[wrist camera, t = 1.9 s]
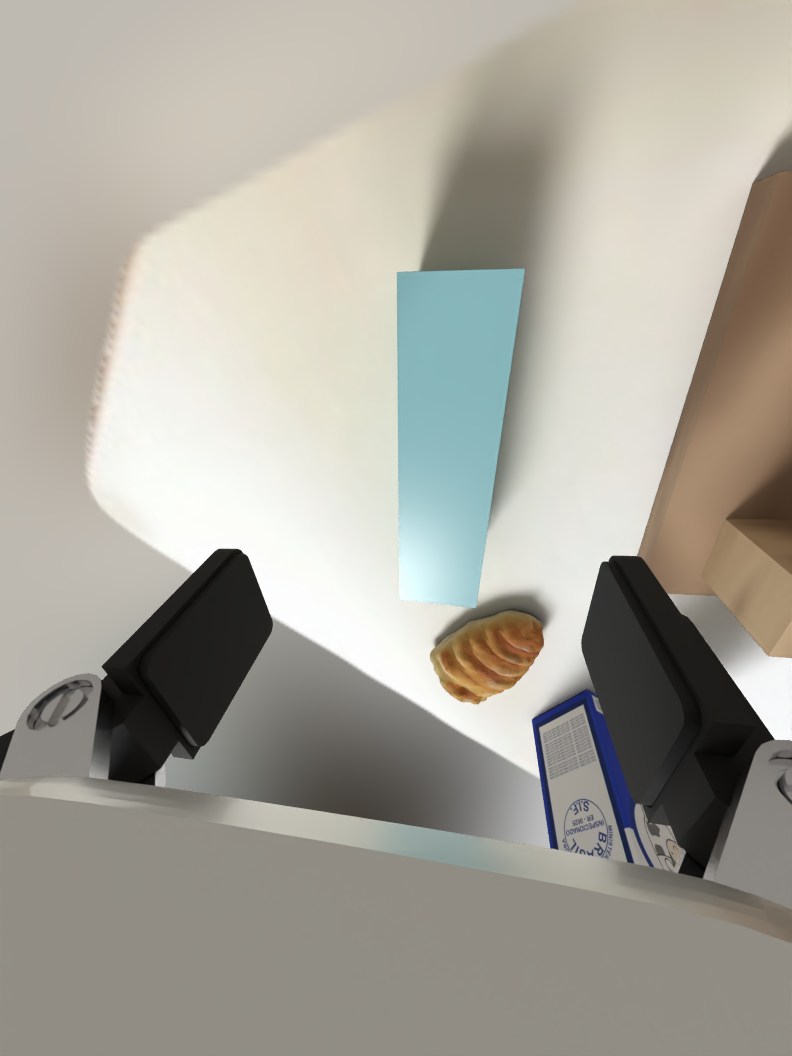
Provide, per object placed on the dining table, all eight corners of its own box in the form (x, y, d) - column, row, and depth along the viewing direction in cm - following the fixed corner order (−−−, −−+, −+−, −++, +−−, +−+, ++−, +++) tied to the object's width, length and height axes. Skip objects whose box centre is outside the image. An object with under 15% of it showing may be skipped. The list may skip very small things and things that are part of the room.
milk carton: (646, 724, 32) (837, 1183, 15) (586, 751, 36) (688, 1147, 19) (585, 688, 31) (719, 1138, 14) (529, 719, 35) (585, 1109, 18)
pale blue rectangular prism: (509, 278, 17) (525, 268, 12) (475, 549, 26) (476, 608, 21) (417, 280, 18) (396, 272, 13) (412, 543, 27) (399, 599, 22)
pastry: (497, 586, 27) (501, 624, 24) (564, 630, 28) (576, 671, 25) (425, 647, 32) (421, 685, 29) (484, 682, 33) (486, 722, 30)
